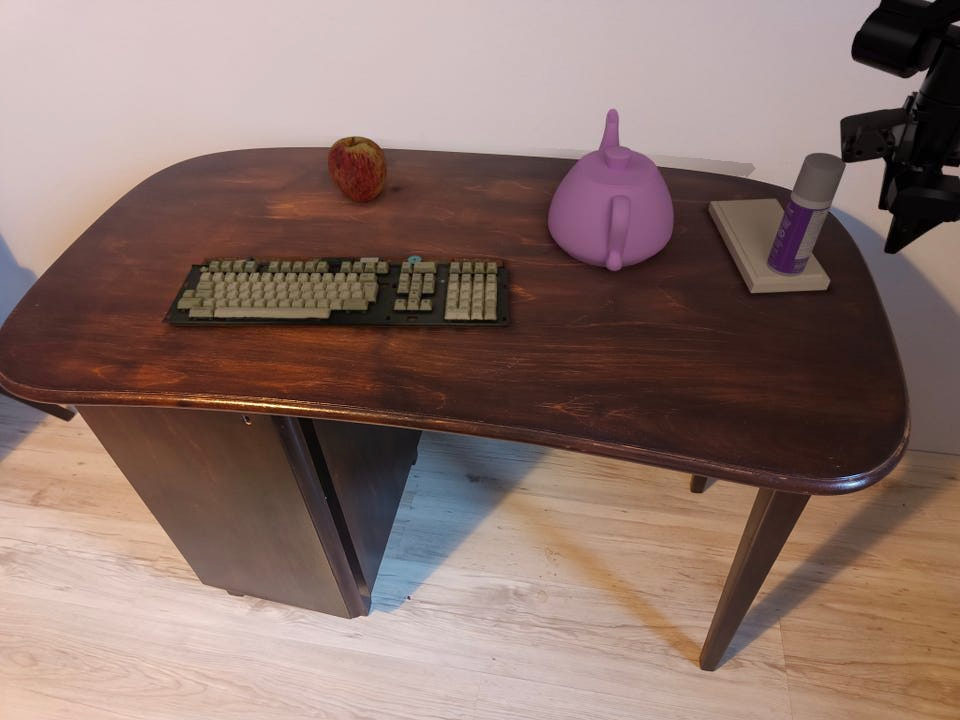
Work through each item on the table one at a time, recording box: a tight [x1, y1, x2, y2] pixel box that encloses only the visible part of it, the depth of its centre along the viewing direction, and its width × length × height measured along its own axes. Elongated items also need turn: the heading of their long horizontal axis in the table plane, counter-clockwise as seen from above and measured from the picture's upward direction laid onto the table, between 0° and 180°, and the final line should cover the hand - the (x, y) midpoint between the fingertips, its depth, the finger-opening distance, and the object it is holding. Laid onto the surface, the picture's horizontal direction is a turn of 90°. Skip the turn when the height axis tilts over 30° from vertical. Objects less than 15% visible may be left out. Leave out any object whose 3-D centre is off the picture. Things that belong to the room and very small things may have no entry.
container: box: [767, 152, 847, 277], centre depth 79 cm, size 5×5×15 cm
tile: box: [708, 198, 831, 294], centre depth 90 cm, size 20×10×2 cm, turn 2°
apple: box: [327, 135, 388, 203], centre depth 100 cm, size 9×9×10 cm
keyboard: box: [161, 255, 511, 329], centre depth 86 cm, size 45×15×2 cm, turn 88°
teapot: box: [547, 108, 675, 272], centre depth 90 cm, size 25×18×14 cm
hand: (885, 230), depth 73 cm, fingers open, 9 cm apart
